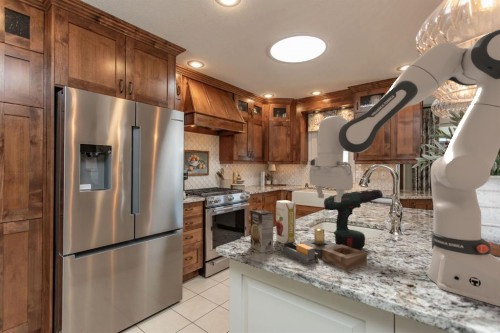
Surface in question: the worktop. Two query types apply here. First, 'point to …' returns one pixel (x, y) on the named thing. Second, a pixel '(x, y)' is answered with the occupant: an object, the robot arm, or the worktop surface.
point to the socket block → (319, 248)
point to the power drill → (345, 210)
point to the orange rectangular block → (306, 250)
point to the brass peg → (319, 236)
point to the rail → (297, 253)
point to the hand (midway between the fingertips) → (328, 200)
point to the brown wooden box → (344, 257)
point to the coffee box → (262, 230)
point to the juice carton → (285, 221)
